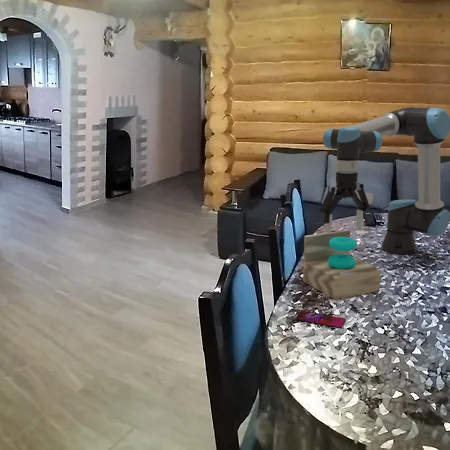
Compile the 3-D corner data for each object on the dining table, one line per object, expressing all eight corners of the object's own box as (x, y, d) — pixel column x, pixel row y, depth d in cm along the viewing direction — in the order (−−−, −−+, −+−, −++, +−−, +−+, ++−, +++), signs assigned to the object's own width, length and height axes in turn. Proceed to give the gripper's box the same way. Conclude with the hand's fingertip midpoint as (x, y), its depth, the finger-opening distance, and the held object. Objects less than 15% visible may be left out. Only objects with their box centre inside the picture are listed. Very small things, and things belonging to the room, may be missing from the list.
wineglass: (371, 234, 265) (374, 195, 260) (353, 233, 267) (356, 194, 262) (370, 230, 273) (372, 192, 268) (353, 229, 274) (355, 191, 269)
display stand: (302, 281, 200) (304, 235, 196) (345, 273, 209) (348, 230, 204) (334, 299, 183) (336, 250, 178) (379, 290, 191) (383, 243, 186)
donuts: (356, 244, 185) (327, 242, 188) (354, 271, 188) (326, 268, 190) (357, 236, 194) (330, 234, 197) (356, 262, 197) (329, 260, 200)
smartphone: (341, 327, 160) (294, 319, 166) (341, 330, 160) (294, 321, 166) (346, 318, 167) (301, 310, 173) (346, 320, 167) (300, 312, 173)
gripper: (323, 175, 177) (321, 236, 182) (381, 170, 187) (377, 227, 192) (311, 172, 183) (309, 231, 189) (368, 167, 193) (364, 223, 199)
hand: (343, 229), depth 190 cm, fingers open, 13 cm apart
